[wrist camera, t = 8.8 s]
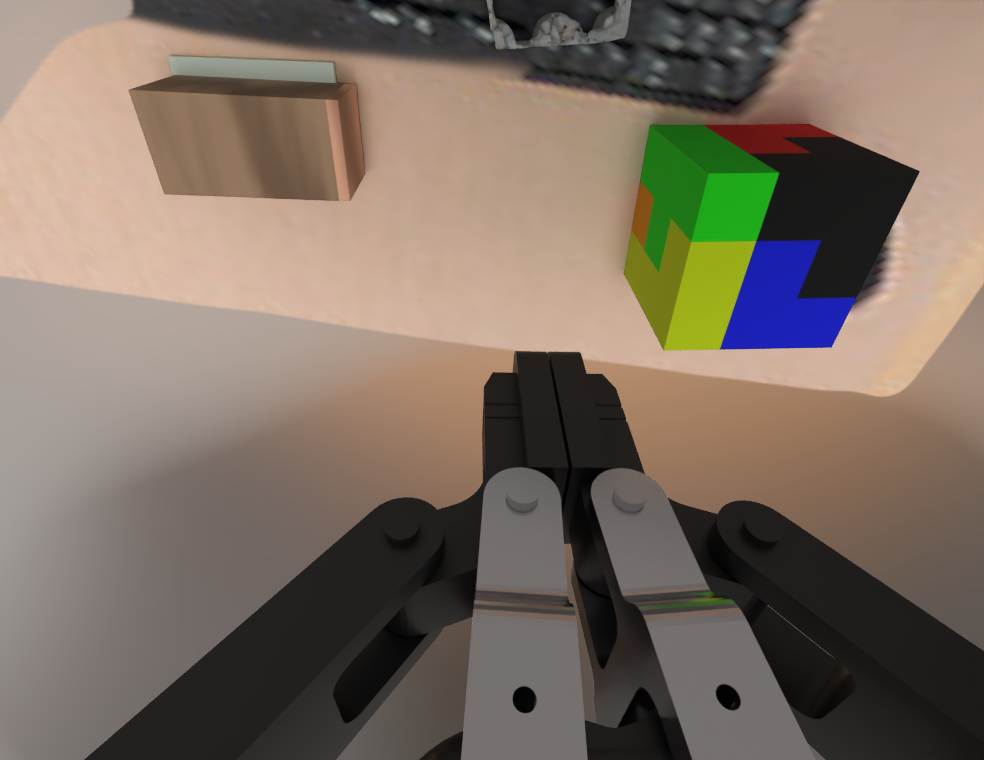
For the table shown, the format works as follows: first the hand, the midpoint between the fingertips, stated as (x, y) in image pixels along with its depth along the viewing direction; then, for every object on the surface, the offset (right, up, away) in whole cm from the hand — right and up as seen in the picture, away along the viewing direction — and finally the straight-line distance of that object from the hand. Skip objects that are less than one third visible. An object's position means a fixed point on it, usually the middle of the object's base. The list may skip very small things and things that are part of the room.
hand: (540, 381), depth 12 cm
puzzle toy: (+14, +12, +23) cm, 29 cm away
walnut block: (-9, +14, +17) cm, 23 cm away
